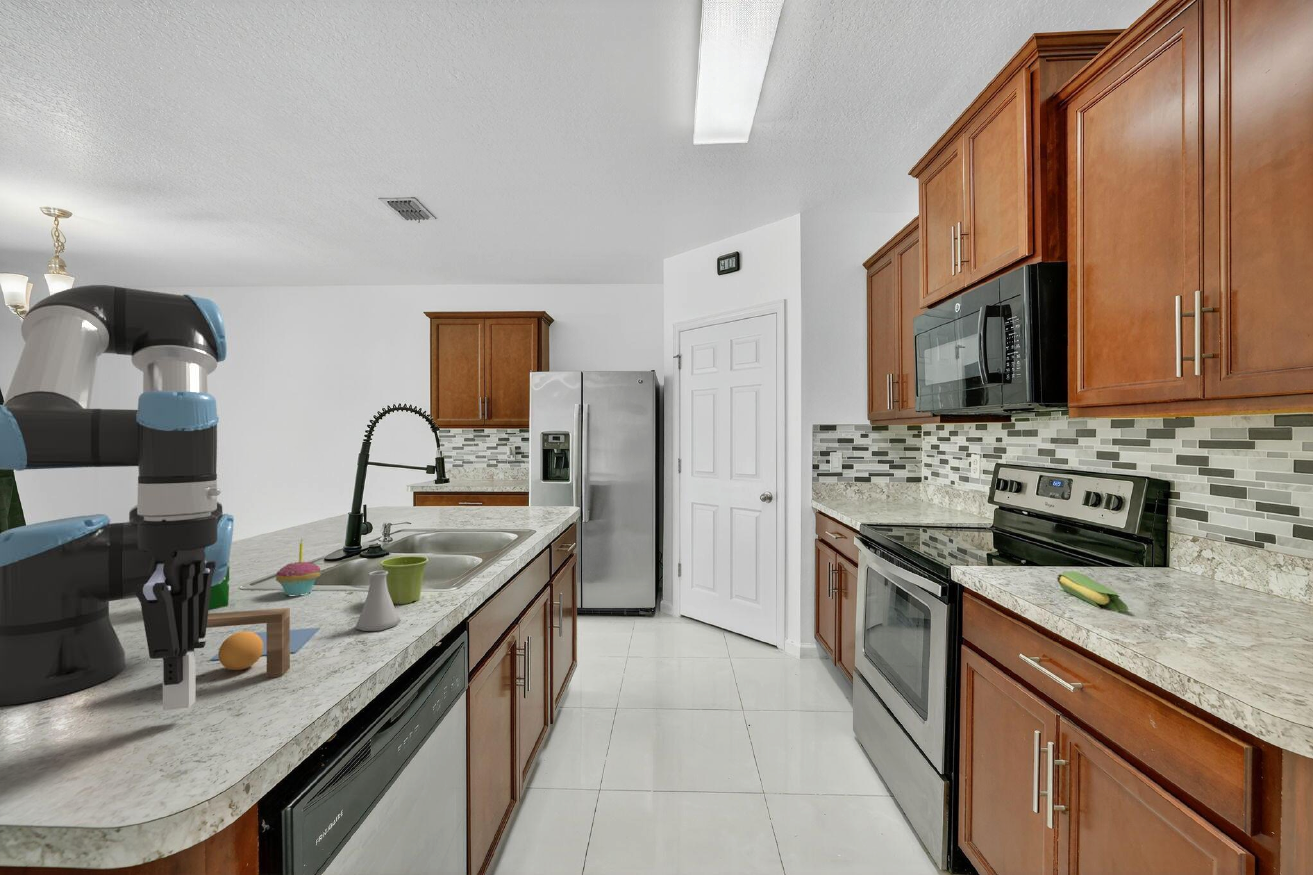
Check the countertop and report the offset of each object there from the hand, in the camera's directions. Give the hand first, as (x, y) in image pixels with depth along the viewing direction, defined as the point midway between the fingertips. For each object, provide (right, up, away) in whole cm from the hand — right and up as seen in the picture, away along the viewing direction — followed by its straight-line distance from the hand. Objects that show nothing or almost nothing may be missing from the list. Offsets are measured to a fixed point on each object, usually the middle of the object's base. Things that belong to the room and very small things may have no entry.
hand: (179, 705), depth 69 cm
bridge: (-3, -2, +13) cm, 13 cm away
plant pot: (+5, -2, +51) cm, 51 cm away
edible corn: (+152, -2, +50) cm, 160 cm away
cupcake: (-21, -2, +56) cm, 60 cm away
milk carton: (-35, -2, +46) cm, 58 cm away
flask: (+7, -2, +35) cm, 36 cm away
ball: (-4, +1, +16) cm, 16 cm away
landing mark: (-7, -2, +26) cm, 27 cm away
